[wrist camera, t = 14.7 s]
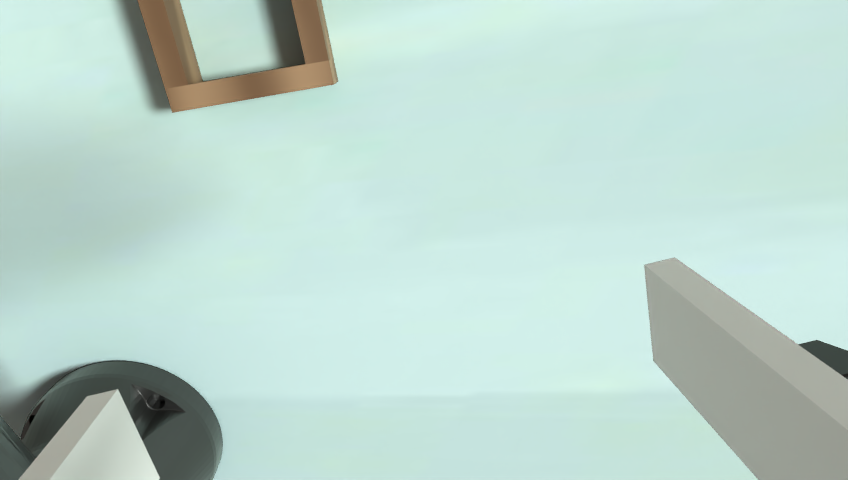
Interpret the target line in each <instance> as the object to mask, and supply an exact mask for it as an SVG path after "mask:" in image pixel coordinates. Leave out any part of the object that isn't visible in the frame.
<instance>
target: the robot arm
mask: <svg viewBox="0 0 848 480" xmlns="http://www.w3.org/2000/svg"><path fill="white" fill-rule="evenodd" d="M644 268H645V278H646V289H647V299H648V310H649V320H650V331H651V341H652V352H653V361H654V362H655V363H656V364H657V366H658V367H659V368H660V369H661V370H662V371H663V372H664V373H665V375H666V376H667V377H668V378H669V379H670V380H671V381H672V383H673V384H674V385H675V386H676V387H677V388H678V389H679V390H680V392H681V393H682V394H683V395H684V396H685V397H686V398H687V399H688V401H689V402H690V403H691V404H692V405H693V406H694V407H695V409H696V410H697V411H698V412H699V413H700V414H701V415H702V416H703V418H704V419H705V420H706V421H707V422H708V423H709V424H710V425H711V427H712V428H713V429H714V430H715V431H716V432H717V433H718V435H719V436H720V437H721V438H722V439H723V440H724V441H725V442H726V444H727V445H728V446H729V447H730V448H731V449H732V450H733V452H734V453H735V454H736V455H737V456H738V457H739V458H740V459H741V461H742V462H743V463H744V464H745V465H746V466H747V467H748V468H749V470H750V471H751V472H752V473H753V474H754V475H755V476H756V478H757V479H758V480H848V351H847V350H844V349H841V348H838V347H835V346H832V345H830V344H827V343H824V342H821V341H818V340H815V341H811V342H807V343H802V344H797V343H795V342H794V341H792V340H791V339H789V338H788V337H787V336H785V335H784V334H782V333H781V332H780V331H778V330H777V329H775V328H774V327H772V326H771V325H770V324H768V323H767V322H765V321H764V320H763V319H761V318H760V317H758V316H757V315H755V314H754V313H753V312H751V311H750V310H748V309H747V308H746V307H744V306H743V305H741V304H740V303H738V302H737V301H736V300H734V299H733V298H731V297H730V296H729V295H727V294H726V293H724V292H723V291H721V290H720V289H719V288H717V287H716V286H714V285H713V284H712V283H710V282H709V281H707V280H706V279H704V278H703V277H702V276H700V275H699V274H697V273H696V272H695V271H693V270H692V269H690V268H689V267H687V266H686V265H685V264H683V263H682V262H680V261H679V260H678V259H676V258H671V259H667V260H662V261H658V262H654V263H650V264H645V265H644ZM222 447H223V441H222V433H221V429H220V425H219V422H218V420H217V418H216V416H215V414H214V412H213V410H212V408H211V407H210V406H209V404H208V403H207V401H206V400H205V399H204V398H203V397H202V396H201V395H200V394H199V393H198V392H197V391H196V390H195V389H194V388H193V387H191V386H190V385H189V384H188V383H186V382H185V381H183V380H182V379H180V378H178V377H177V376H175V375H173V374H171V373H169V372H167V371H164V370H162V369H159V368H156V367H153V366H150V365H146V364H141V363H136V362H126V361H111V362H102V363H96V364H92V365H88V366H85V367H82V368H80V369H77V370H75V371H73V372H71V373H69V374H68V375H66V376H65V377H63V378H62V379H61V380H59V381H58V382H57V383H56V384H55V385H54V386H53V387H52V388H51V389H50V390H49V391H48V392H47V393H46V394H45V395H44V396H43V397H42V398H41V399H40V400H39V401H38V403H37V404H36V405H35V407H34V408H33V409H32V411H31V413H30V414H29V416H28V418H27V420H26V423H25V425H24V428H23V431H22V435H21V440H20V439H19V437H18V436H17V435H16V434H15V433H14V432H13V430H12V429H11V428H10V427H9V426H8V424H7V423H6V422H5V421H4V420H3V419H2V417H1V416H0V480H213V478H214V475H215V473H216V470H217V468H218V465H219V463H220V460H221V455H222Z"/></svg>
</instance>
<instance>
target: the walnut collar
mask: <svg viewBox="0 0 848 480" xmlns="http://www.w3.org/2000/svg"><path fill="white" fill-rule="evenodd" d="M291 1H292V6H293V10H294V15H295V19H296V24H297V28H298V33H299V37H300V41H301V46H302V50H303V55H304V59H305V64H301V65H295V66H289V67H284V68H278V69H272V70H266V71H261V72H255V73H249V74H243V75H238V76H232V77H226V78H221V79H215V80H209V81H203V80H202V77H201V73H200V70H199V66H198V63H197V59H196V56H195V52H194V49H193V45H192V42H191V38H190V35H189V31H188V28H187V24H186V21H185V18H184V14H183V11H182V7H181V4H180V0H138V4H139V7H140V10H141V13H142V17H143V20H144V23H145V26H146V29H147V33H148V36H149V39H150V42H151V46H152V49H153V52H154V55H155V58H156V62H157V65H158V68H159V71H160V75H161V78H162V81H163V84H164V87H165V91H166V94H167V97H168V100H169V104H170V107H171V110H172V113H173V112H179V111H184V110H190V109H196V108H202V107H207V106H213V105H219V104H224V103H230V102H236V101H242V100H247V99H253V98H259V97H265V96H270V95H276V94H282V93H288V92H293V91H299V90H305V89H311V88H316V87H322V86H328V85H334V84H335V83H336V82H338V78H337V74H336V69H335V64H334V59H333V54H332V50H331V45H330V40H329V35H328V30H327V26H326V21H325V16H324V11H323V6H322V2H321V0H291Z"/></svg>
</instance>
